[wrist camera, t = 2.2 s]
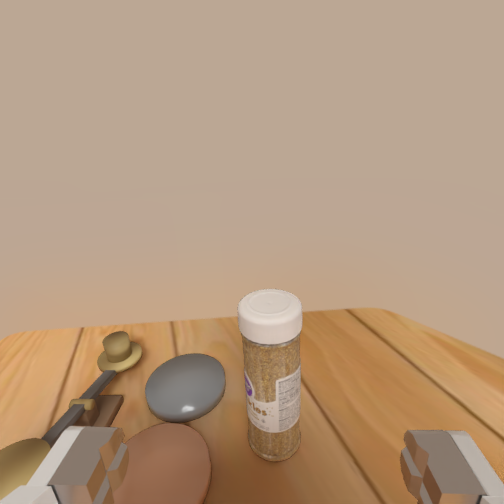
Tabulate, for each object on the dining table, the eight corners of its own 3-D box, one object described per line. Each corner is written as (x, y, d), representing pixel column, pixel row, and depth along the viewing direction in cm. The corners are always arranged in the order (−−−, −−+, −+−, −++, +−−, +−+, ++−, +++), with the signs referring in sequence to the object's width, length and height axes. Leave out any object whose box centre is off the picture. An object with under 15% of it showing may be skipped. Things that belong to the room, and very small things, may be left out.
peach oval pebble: (218, 432, 27) (216, 422, 26) (199, 548, 19) (197, 537, 19) (130, 432, 27) (127, 423, 27) (79, 545, 20) (74, 534, 19)
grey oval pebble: (229, 361, 35) (228, 353, 35) (219, 422, 28) (218, 412, 27) (162, 362, 36) (160, 354, 35) (134, 423, 28) (132, 413, 28)
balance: (150, 356, 37) (142, 320, 35) (43, 565, 19) (15, 514, 17) (114, 357, 37) (104, 321, 35) (-26, 563, 19) (-61, 513, 17)
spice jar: (238, 433, 27) (224, 300, 22) (278, 406, 29) (273, 280, 24) (271, 477, 23) (263, 329, 18) (313, 442, 25) (316, 303, 21)
